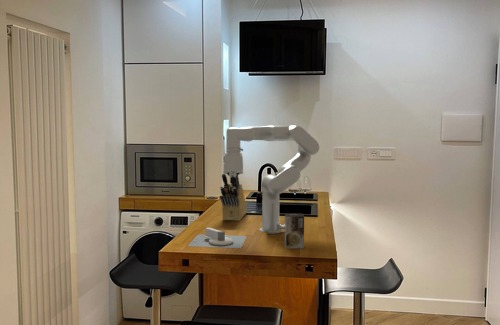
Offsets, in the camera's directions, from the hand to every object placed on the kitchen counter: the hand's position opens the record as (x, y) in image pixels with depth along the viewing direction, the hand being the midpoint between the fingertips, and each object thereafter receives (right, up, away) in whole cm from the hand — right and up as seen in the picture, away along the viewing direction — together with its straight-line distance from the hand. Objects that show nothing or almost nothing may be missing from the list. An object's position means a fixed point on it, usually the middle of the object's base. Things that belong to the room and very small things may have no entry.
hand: (233, 184), depth 275 cm
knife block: (-1, -23, +43) cm, 49 cm away
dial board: (-7, -29, -20) cm, 36 cm away
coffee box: (+31, -30, -24) cm, 49 cm away
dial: (-7, -28, -21) cm, 35 cm away
